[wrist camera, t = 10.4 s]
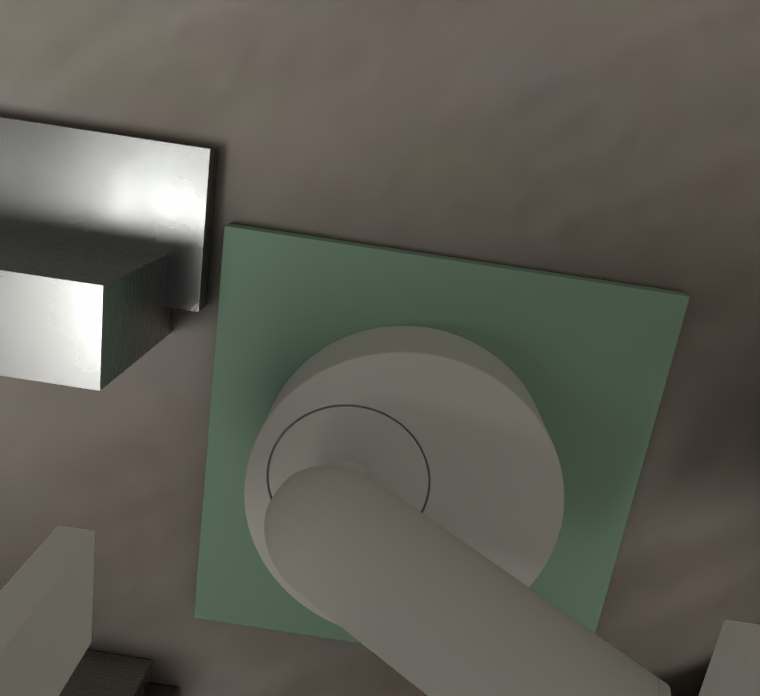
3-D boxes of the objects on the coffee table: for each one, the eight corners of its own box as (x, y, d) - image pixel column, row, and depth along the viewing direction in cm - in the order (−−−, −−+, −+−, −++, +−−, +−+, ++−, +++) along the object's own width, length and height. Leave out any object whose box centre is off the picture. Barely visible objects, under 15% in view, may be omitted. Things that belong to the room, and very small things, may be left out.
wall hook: (562, 974, 14) (85, 787, 13) (502, 641, 23) (220, 518, 22) (826, 652, 12) (264, 397, 11) (643, 423, 21) (332, 275, 20)
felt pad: (198, 606, 24) (193, 617, 23) (230, 223, 20) (224, 225, 20) (579, 664, 24) (583, 677, 23) (682, 292, 20) (690, 296, 20)
